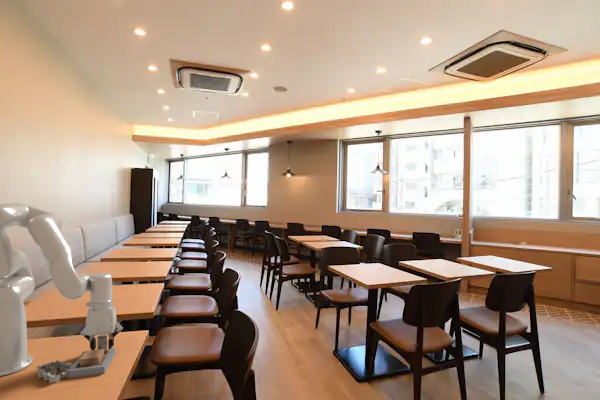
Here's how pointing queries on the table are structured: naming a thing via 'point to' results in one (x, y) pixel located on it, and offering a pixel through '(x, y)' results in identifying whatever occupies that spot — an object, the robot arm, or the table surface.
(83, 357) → the tan block with knob
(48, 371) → the grey rough openwork block
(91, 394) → the table surface
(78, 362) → the lane rack
